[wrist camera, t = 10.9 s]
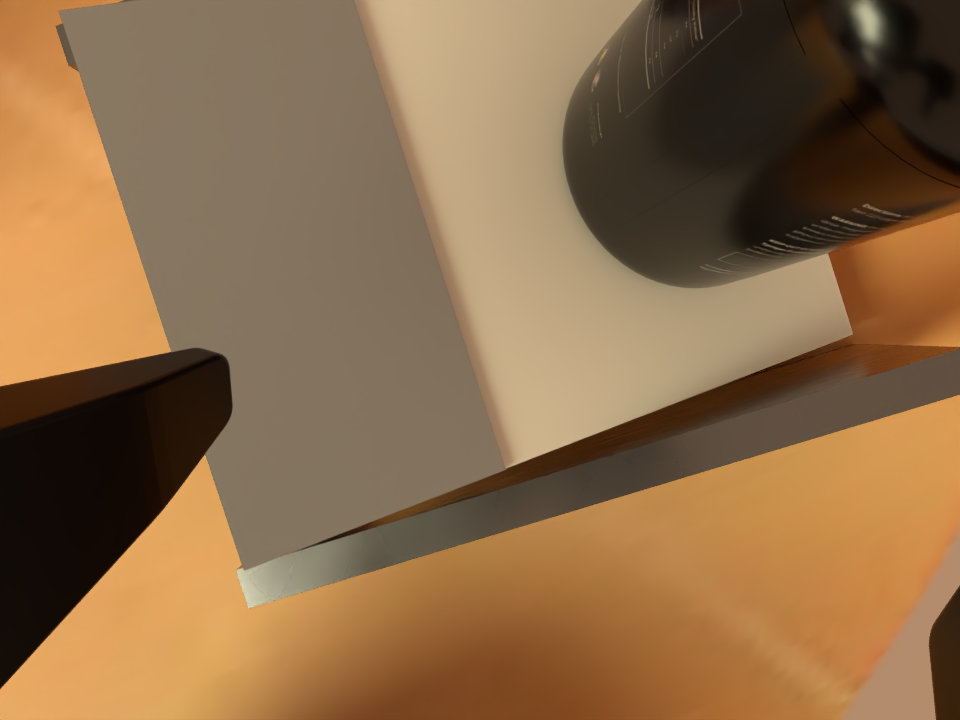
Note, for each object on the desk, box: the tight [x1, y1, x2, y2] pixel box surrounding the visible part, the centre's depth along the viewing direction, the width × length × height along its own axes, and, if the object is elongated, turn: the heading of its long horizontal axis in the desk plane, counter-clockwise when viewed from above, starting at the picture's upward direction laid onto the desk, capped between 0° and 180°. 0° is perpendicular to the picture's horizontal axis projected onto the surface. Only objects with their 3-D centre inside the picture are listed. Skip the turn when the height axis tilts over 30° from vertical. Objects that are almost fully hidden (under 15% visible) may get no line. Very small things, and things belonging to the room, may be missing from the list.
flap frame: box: [56, 0, 960, 608], centre depth 18 cm, size 18×15×5 cm
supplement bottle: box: [562, 0, 960, 288], centre depth 12 cm, size 7×7×12 cm
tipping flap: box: [59, 0, 853, 571], centre depth 17 cm, size 17×12×3 cm
